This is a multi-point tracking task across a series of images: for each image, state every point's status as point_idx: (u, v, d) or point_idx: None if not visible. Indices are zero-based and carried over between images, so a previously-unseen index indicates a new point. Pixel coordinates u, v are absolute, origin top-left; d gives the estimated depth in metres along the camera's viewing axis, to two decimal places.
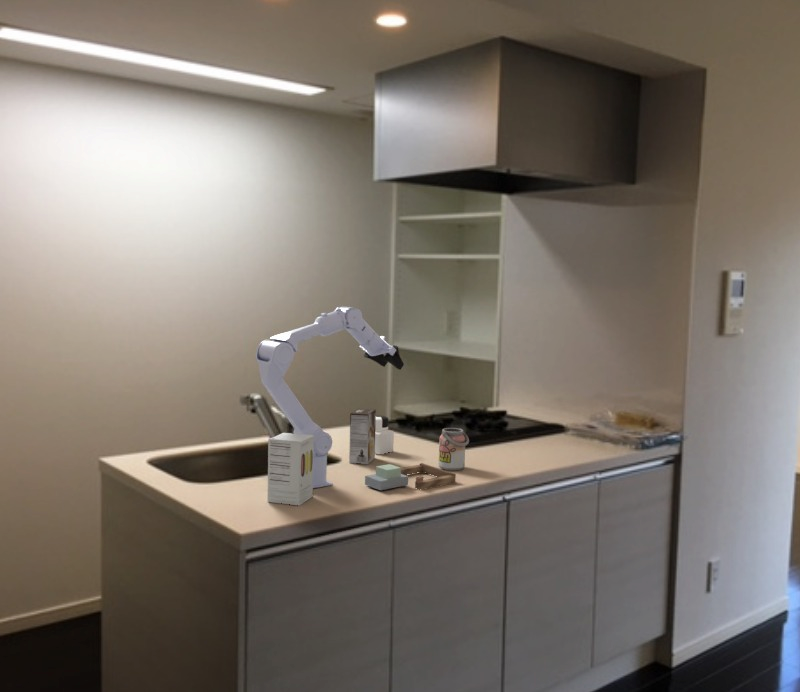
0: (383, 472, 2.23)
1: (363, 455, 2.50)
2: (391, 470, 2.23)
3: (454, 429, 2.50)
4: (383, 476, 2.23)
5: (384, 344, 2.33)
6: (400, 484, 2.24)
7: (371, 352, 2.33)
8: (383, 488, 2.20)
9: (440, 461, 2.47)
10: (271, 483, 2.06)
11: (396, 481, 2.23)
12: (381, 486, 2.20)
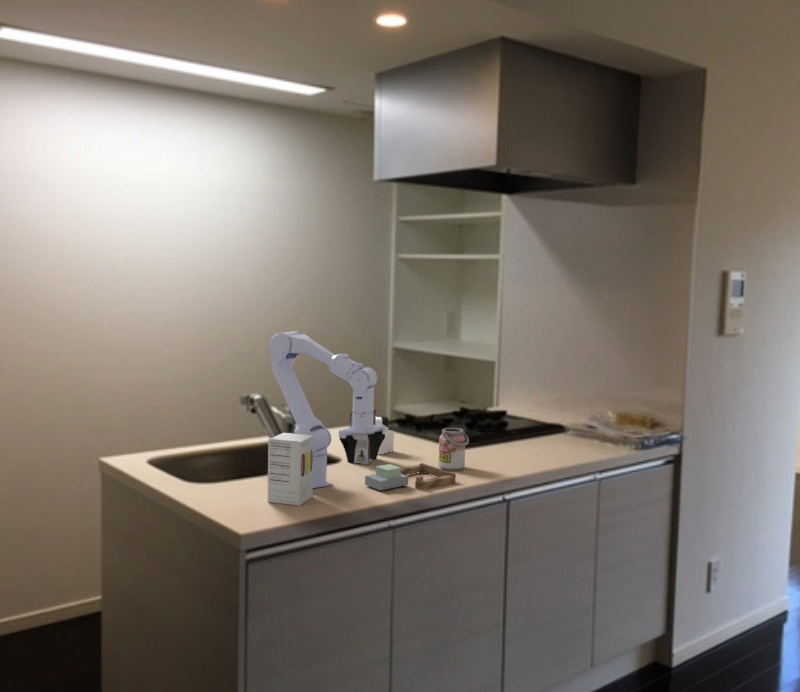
0: (383, 472, 2.23)
1: (363, 455, 2.50)
2: (391, 470, 2.23)
3: (454, 429, 2.50)
4: (383, 476, 2.23)
5: None
6: (400, 484, 2.24)
7: None
8: (383, 488, 2.20)
9: (440, 461, 2.47)
10: (271, 483, 2.06)
11: (396, 481, 2.23)
12: (381, 486, 2.20)
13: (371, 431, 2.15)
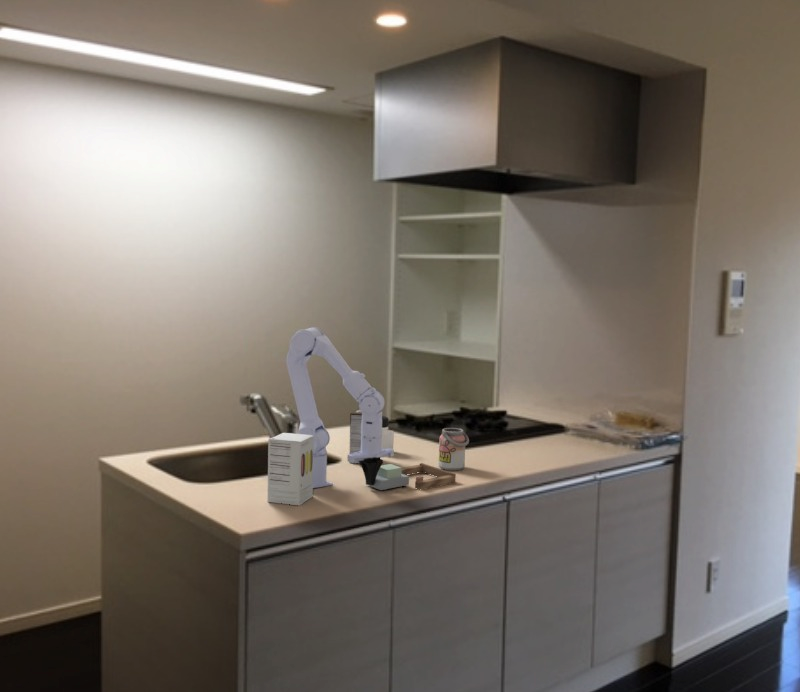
0: (383, 472, 2.23)
1: None
2: (392, 470, 2.23)
3: (454, 429, 2.50)
4: (384, 476, 2.23)
5: None
6: (401, 484, 2.24)
7: None
8: (384, 488, 2.21)
9: (440, 461, 2.47)
10: (271, 483, 2.06)
11: (397, 481, 2.23)
12: (382, 486, 2.20)
13: (379, 455, 2.18)
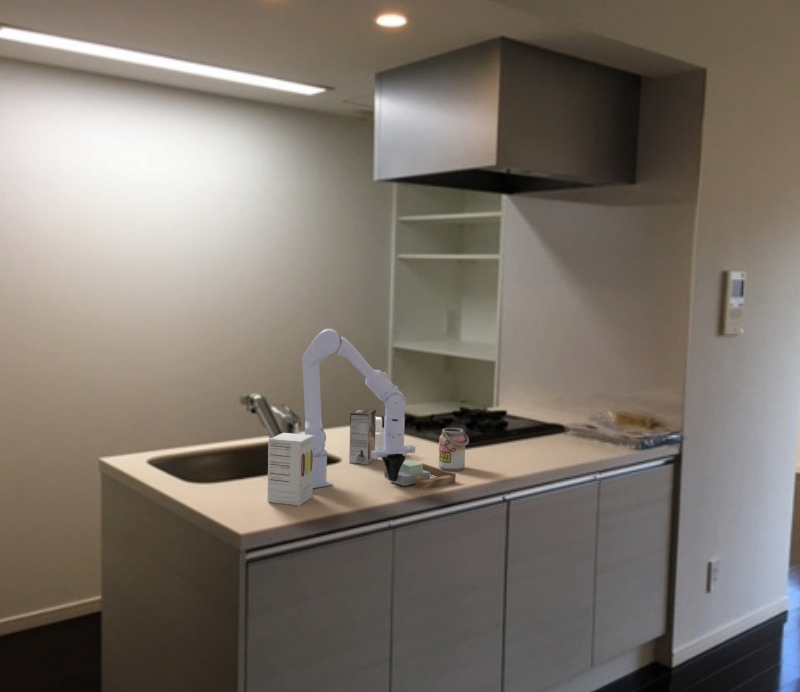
0: (405, 468, 2.28)
1: (363, 455, 2.50)
2: (414, 466, 2.28)
3: (454, 429, 2.50)
4: (406, 472, 2.28)
5: None
6: None
7: None
8: (406, 484, 2.26)
9: (440, 461, 2.47)
10: (271, 483, 2.06)
11: None
12: (404, 482, 2.25)
13: (402, 452, 2.23)
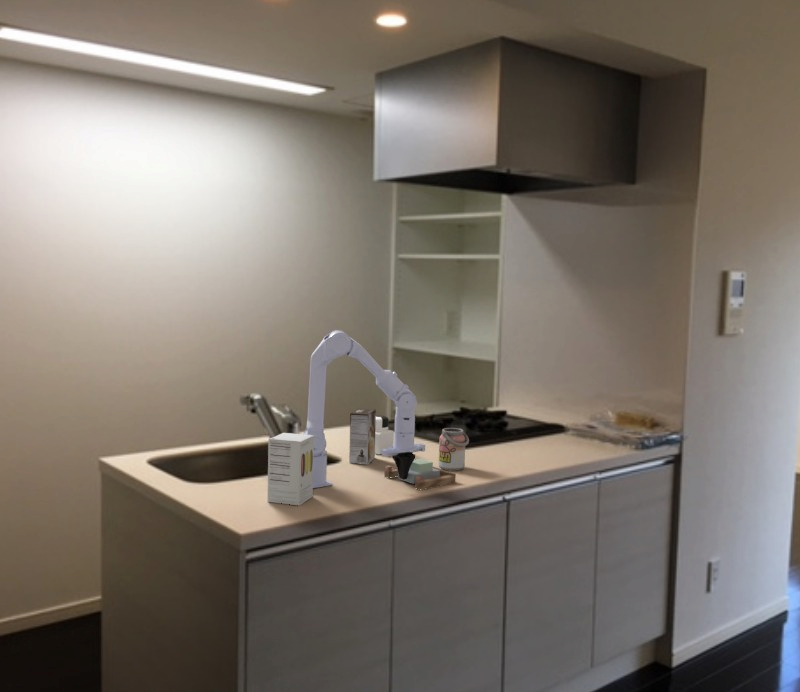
0: (415, 467, 2.31)
1: (363, 455, 2.50)
2: (423, 464, 2.30)
3: (454, 429, 2.50)
4: (416, 470, 2.31)
5: None
6: None
7: None
8: None
9: (440, 461, 2.47)
10: (271, 483, 2.06)
11: (429, 475, 2.31)
12: (414, 480, 2.27)
13: (412, 450, 2.25)
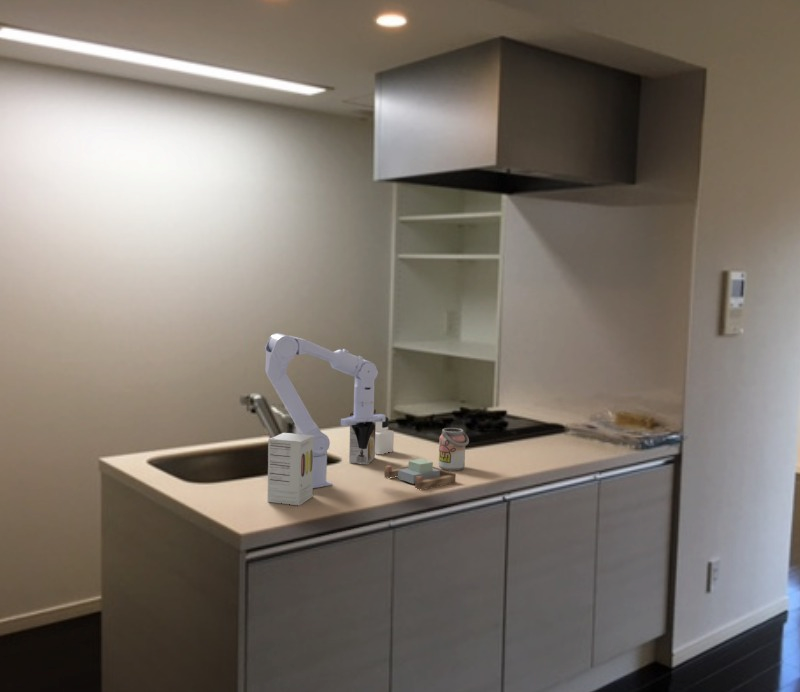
0: (415, 467, 2.31)
1: (363, 455, 2.50)
2: (423, 464, 2.30)
3: (454, 429, 2.50)
4: (416, 470, 2.31)
5: None
6: None
7: None
8: None
9: (440, 461, 2.47)
10: (271, 483, 2.06)
11: (429, 475, 2.31)
12: (414, 480, 2.27)
13: (371, 420, 2.26)
